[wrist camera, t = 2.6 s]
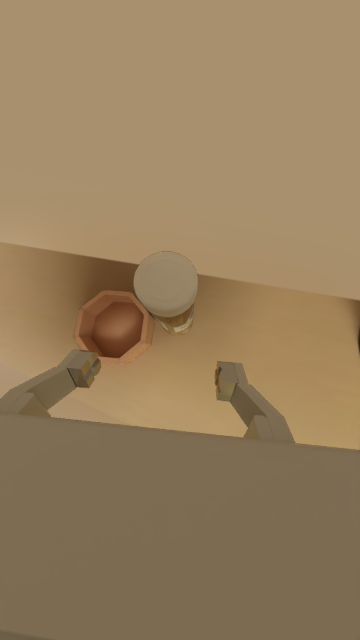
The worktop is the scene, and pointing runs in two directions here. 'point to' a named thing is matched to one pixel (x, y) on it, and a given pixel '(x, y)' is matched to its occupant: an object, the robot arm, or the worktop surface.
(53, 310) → the worktop surface
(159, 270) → the sprinkles bottle
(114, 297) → the bowl
